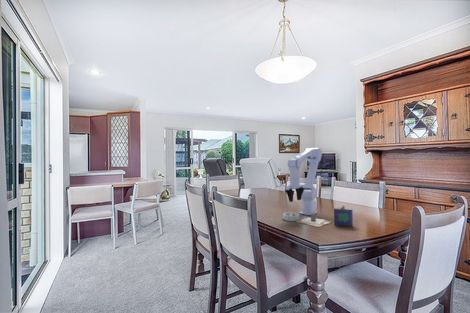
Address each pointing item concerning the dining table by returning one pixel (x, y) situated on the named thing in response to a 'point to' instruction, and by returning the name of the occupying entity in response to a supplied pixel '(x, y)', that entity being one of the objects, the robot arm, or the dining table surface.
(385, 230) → the dining table surface
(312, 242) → the dining table surface
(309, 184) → the robot arm
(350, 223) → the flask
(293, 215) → the bowl
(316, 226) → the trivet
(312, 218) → the cover
